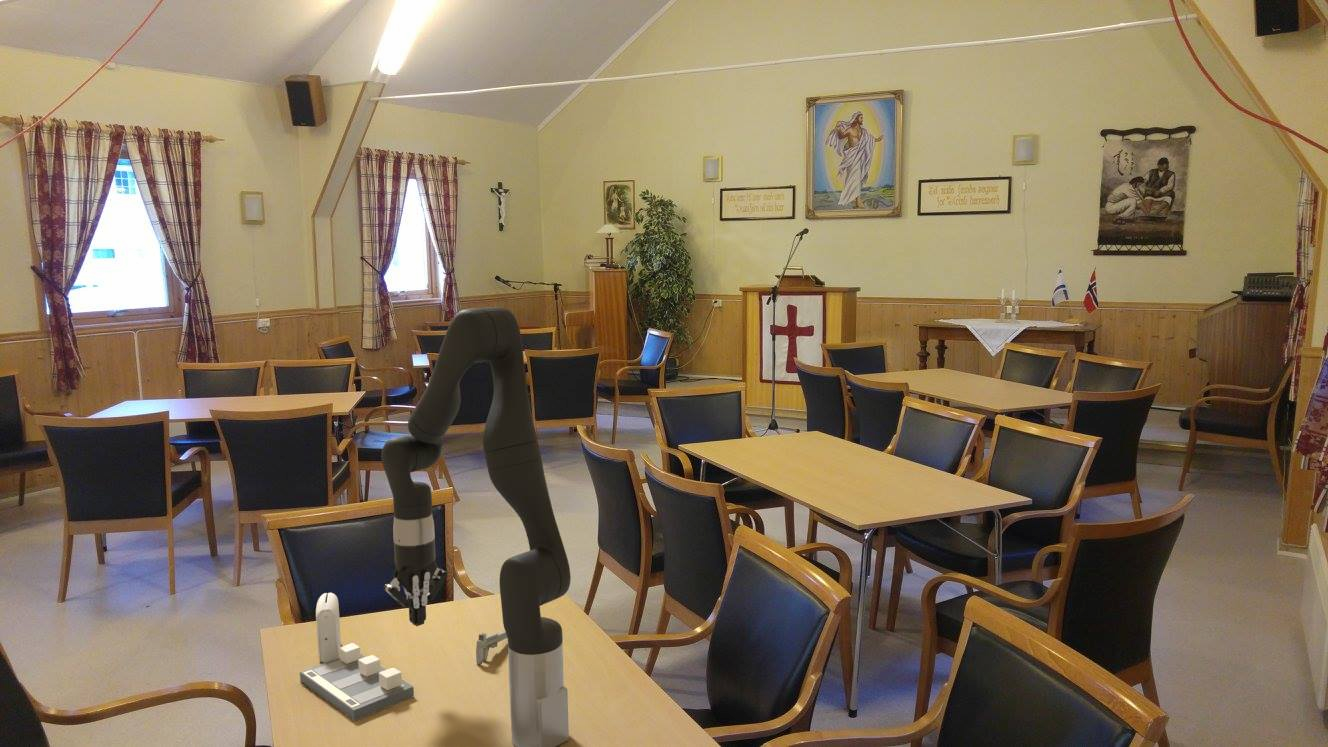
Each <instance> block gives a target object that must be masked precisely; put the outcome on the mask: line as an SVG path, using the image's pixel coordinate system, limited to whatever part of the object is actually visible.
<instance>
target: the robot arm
mask: <svg viewBox="0 0 1328 747" xmlns="http://www.w3.org/2000/svg"><path fill="white" fill-rule="evenodd" d="M518 323H519V322H518V321H517V319H516V317H515V315H514V313H513V312H511V310H510V309H509V308H506V307H503V306H491V307H490V306H487V307H486V306H485V307H472V308H466V309H462V310H460V311H459V312H457V313H456V314H455V315H454V317H452V319H451V321H450V322H449V325H448V327H447V330H446V332H445V334H444V338H443V341H442V343H441V346H440V349H439V351H438V355H437V357H436V360H435V364H434V368H433V370H432V374H431V376H430V378H429V381H428V383H427V386H426V388H425V390H424V392H423V394H421V395H422V396H421V397H420V399H418V400H419V401H418V402H417V404H416V405H415V407H414V409H413V411H412V413H411V414H410V416H409V418H408V422H407V429H408V431H409V434H406V435H401V436H395V437H392V438H391V437H390V439H388V440H386V441H385V443H384V445H383V447H382V449H381V455H380V456H381V458H380V459H381V464H382V467H383V470H384V473H385V475H386V478H387V481H388V484H389V485H388V486H389V488H390V490H391V494H392V498H393V500H392V502H393V504H392V505H393V527H392V528H393V529H392V532H393V551H394V552H393V553H394V554H393V555H394V564H395V570H394V573H393V577H394V578H393V579H392V580H391V581H390V583H386V584H384V585H383V590H384V591H385V592H386V593H387V594H388V595H389V596H390V597H391V598H392V599H394V600H395V601H396V603H398V605H400V606H402V607H404V608H406V609H408V618H409V619H408V620H409V622H410V623H411V624H412V625H413V626H414V627H415V626H416V627H419V626H422V625H424V624H425V621H426V619H427V607H426V606H427V604H428V602H430V601H433V600H435V598H436V597H437V595H438V593H439V592H440V589H441V588H442V586H443V584H444V582H445V580H446V579H447V577H448V572H447V571H446V570H444V569H442V568H439V567H438V563H436V539H435V537H436V535H435V522H434V517H433V500H432V499H433V498H432V496H433V495H432V490H431V486H430V485H429V484H428V483H426V482H422V481H413V479H412V476H411V473H413V472H417V471H421V470H425V469H428V468H430V467H432V466H433V465H434V464H436V463H437V461H438V460H439V458H440V456H441V453H442V451H443V450H442V449H443V444H444V439H445V435H446V433H447V431H448V430H449V428H450V427H451V425H452V424H453V422H454V420H455V418H456V417H457V415H458V413H459V410H460V407H461V402H462V396H461V388H460V383H461V380H462V378H463V376H464V375H465V374H466V372H467V370H469V368H470V367H471V366H473V364H475V363H476V364H479V363H485V362H489V363H490V367H491V375H492V381H493V395H492V402H491V405H490V408H489V412H488V415H487V418H486V422H485V427H484V429H483V436H482V446H483V452H484V457H485V462H486V466H487V472H488V476H489V478H490V479H489V480H490V481H491V483H492V485H493V486H494V488H495V490H496V491H497V492H498V493H499V495H500V496H501V497H502V498H503V499H504V500H505V501H506V503H508V505H509V506H510V507H511V508H512V509H513V510H514V512H515V513H516V514H517V516H518V517H519V519H520V520H521V523H522V525H523V527H524V531H525V533H526V538H527V542H528V545H529V550H528V551H525V552H522V553H519V554H517V555H514V556H511V557H509V558H507V559H506V560H505V561H504V562H503V563H502V566H501V568H500V572H499V594H500V603H501V613H502V614H501V615H502V624H503V628H504V630H505V632H506V635H507V638H506V639H507V650H508V651H507V653H508V654H507V655H508V656H507V657H508V677H509V678H508V679H509V705H510V708H509V709H510V710H509V711H510V728H511V729H510V731H511V742H512V744H513V745H514V746H515V747H557V746H559V745H561V744H563V743H565V742H567V741H569V740H570V732H569V730H570V729H569V727H570V726H569V697H568V695H569V694H568V688H567V687H566V686H564V685H565V682H564V680H565V676H564V645H563V644H564V642H563V641H564V640H563V628H562V626H561V624H560V623H559V622H558V621H557V620H555V619H553V618H548V617H544V616H541V615H542V614H541V606H543V605H546V604H548V603H550V602H552V601H556V600H557V599H559V598H562V597H563V596H564V595H565V594H566V593H567V592H568V591H569V588H570V587H571V581H572V580H571V570H570V567H571V566H570V565H569V564H570V563H569V559H568V556H567V553H566V549H565V546H564V542H563V539H562V536H561V533H560V529H559V526H558V524H557V521H556V517H555V514H554V510H553V507H552V502H551V498H550V494H549V493H550V492H549V488H548V485H547V479H546V475H545V471H544V464H543V458H542V454H541V449H540V444H539V441H538V435H537V431H536V427H535V423H534V419H533V412H532V408H531V401H530V396H529V391H528V386H527V385H528V383H527V377H526V366H525V358H524V348H523V341H522V335H521V330H520V326H519V324H518ZM400 586H401V587H402V588H403V591H404V594H405V595H406V597H405V596H404V594H403V593H401V592H400V591H401V587H400Z"/></svg>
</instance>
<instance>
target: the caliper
mask: <svg viewBox="0 0 1328 747" xmlns="http://www.w3.org/2000/svg"><path fill="white" fill-rule="evenodd" d="M506 639H508V638H507V635H506V632H505V629H504V630H502V631H500V632H498V633H496V632H493V633H490V634H488V635H487V633H484V632H482V633H481V634H478V639H477V640H476V647H475V656H476V658H475V659H476V662H475V663H476V664H477V665H481V664H482V665H483V662H482V661H486V660H488V656H489V651H490V648H491V649H494V648H496V647H498V643H499V642H502V641H504V640H506ZM486 662H487V661H486ZM482 665H481V666H482Z"/></svg>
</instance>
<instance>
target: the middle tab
mask: <svg viewBox="0 0 1328 747" xmlns="http://www.w3.org/2000/svg"><path fill="white" fill-rule="evenodd" d="M358 666H359V672H360V673H361V674H363V675H364V676H366V677H367V676H370V675H373V674H375V673H378V672H381V667H382V666H381V658H379V657H377V656H375V655H374V654H370V655H368V656H365V657H364V658H362V659H359V660H358ZM380 666H381V667H380Z"/></svg>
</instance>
